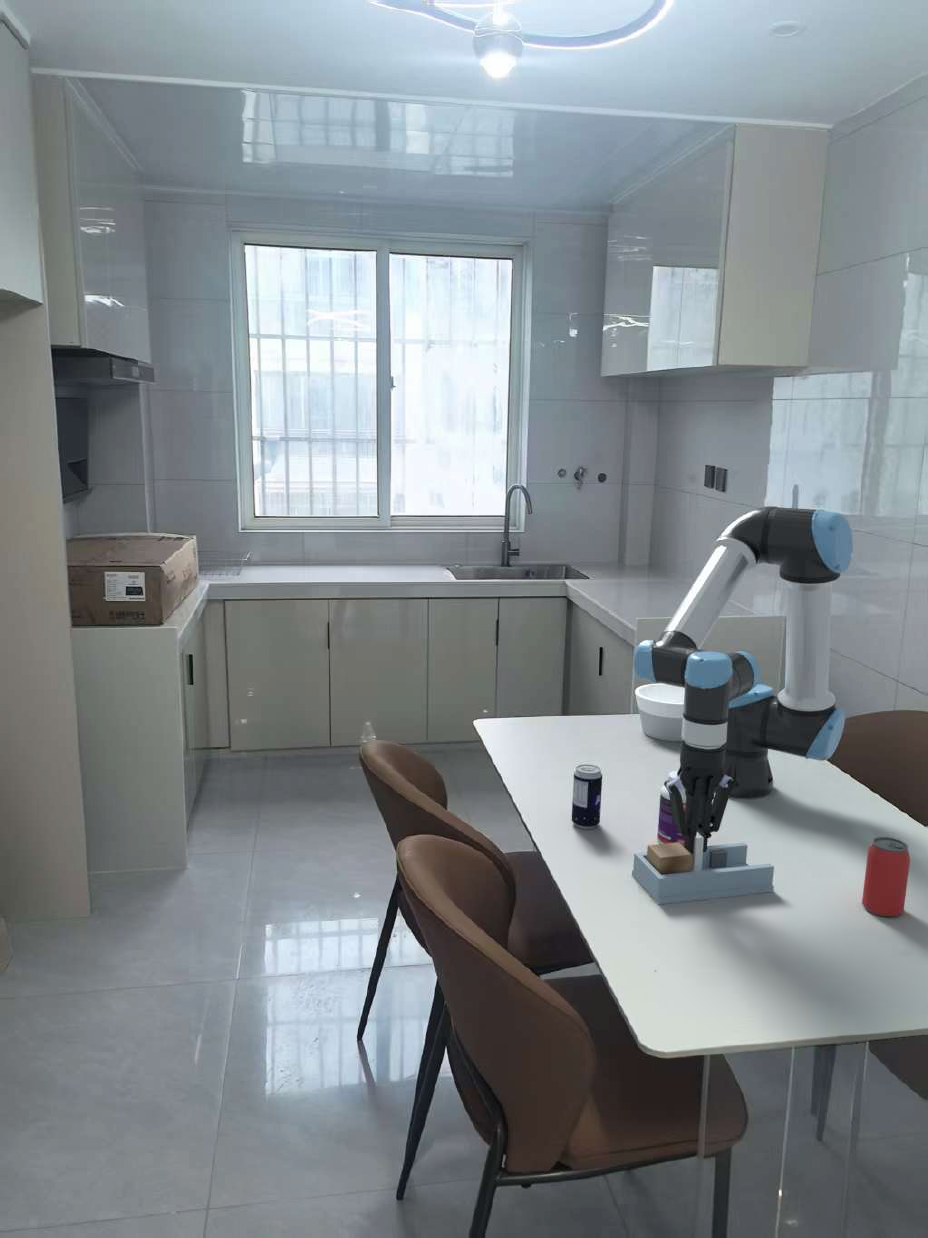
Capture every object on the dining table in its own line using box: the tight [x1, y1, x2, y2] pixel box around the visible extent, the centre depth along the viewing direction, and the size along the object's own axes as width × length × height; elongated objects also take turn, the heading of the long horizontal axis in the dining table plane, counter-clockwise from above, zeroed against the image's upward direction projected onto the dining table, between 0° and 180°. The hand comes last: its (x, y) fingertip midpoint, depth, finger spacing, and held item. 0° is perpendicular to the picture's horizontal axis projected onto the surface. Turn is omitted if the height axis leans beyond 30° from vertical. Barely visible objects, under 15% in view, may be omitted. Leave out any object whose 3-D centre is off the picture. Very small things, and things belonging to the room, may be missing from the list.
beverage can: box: [571, 764, 603, 830], centre depth 196 cm, size 6×6×12 cm
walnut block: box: [646, 842, 692, 875], centre depth 171 cm, size 6×5×6 cm
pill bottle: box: [656, 770, 698, 847], centre depth 187 cm, size 8×8×14 cm
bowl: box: [634, 683, 685, 742], centre depth 255 cm, size 19×19×11 cm
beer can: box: [861, 836, 911, 918], centre depth 164 cm, size 7×7×12 cm
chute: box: [631, 842, 775, 905], centre depth 173 cm, size 22×11×4 cm, turn 105°
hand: (693, 868), depth 172 cm, fingers closed
